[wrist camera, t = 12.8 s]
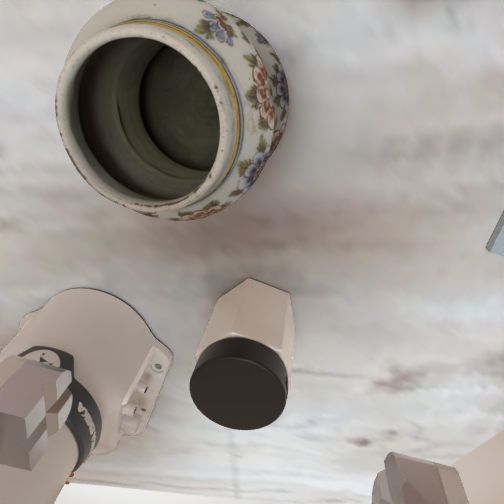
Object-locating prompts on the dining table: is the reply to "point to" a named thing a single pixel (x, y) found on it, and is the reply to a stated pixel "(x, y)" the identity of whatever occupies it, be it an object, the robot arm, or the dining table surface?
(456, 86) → the dining table surface
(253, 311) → the jar
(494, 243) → the cradle stand
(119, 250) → the dining table surface
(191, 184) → the apothecary jar
